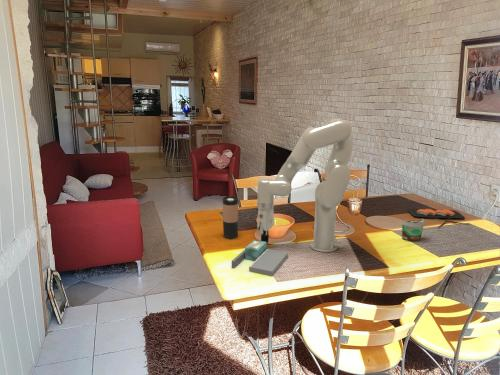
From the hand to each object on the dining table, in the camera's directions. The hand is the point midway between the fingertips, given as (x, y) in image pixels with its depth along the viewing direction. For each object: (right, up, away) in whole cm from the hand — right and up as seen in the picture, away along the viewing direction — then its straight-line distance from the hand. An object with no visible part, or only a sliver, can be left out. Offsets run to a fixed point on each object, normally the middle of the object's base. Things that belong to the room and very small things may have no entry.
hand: (264, 242), depth 179 cm
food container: (+74, 0, +9) cm, 75 cm away
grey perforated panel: (-2, -6, -15) cm, 17 cm away
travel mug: (-17, +1, +13) cm, 21 cm away
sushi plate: (+102, +7, +39) cm, 110 cm away
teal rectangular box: (-4, -5, -9) cm, 11 cm away
